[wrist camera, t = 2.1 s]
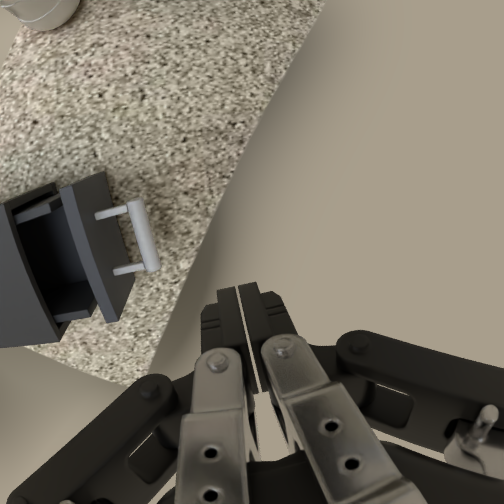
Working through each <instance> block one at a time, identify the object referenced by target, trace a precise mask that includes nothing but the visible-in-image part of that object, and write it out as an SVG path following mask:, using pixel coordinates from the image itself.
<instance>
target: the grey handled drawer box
mask: <svg viewBox="0 0 504 504" xmlns="http://www.w3.org/2000/svg"><path fill="white" fill-rule="evenodd" d="M56 194H57V191H56V187H55V183H54V182H52V183H49V184H47V185H44V186H42V187H39V188H36V189H34V190H31V191H29V192H27V193H24V194H22V195H19V196H17V197H15V198H12V199H10V200H8V201H6V202H3V203H1V204H0V348H7V347H18V346H28V345H37V344H46V343H55V342H60V340H61V338H62V336H63V335H64V333H65V331H66V329H67V328H68V326H69V324H70V322H71V321H72V320H71V321H64V322H58V323H55V322H54V320H53V318H52V315H51V313H50V311H49V309H48V307H47V305H46V303H45V301H44V299H43V296H42V294H41V292H40V290H39V287H38V285H37V283H36V280H35V278H34V275H33V273H32V270H31V268H30V265H29V263H28V260H27V257H26V255H25V252H24V249H23V246H22V244H21V241H20V238H19V235H18V232H17V229H16V226H15V222H14V219H13V216H12V211H14V210H17V209H19V208H22V207H24V206H27V205H29V204H32V203H35V202H37V201H40V200H43V199H45V198H48V197H51V196H54V195H56Z"/></svg>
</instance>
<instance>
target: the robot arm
mask: <svg viewBox="0 0 504 504" xmlns="http://www.w3.org/2000/svg"><path fill="white" fill-rule="evenodd" d="M238 289H239V293H240V298H241V303H242V307H243V311H244V317H245V321H246V326H247V330H248V334H249V338H250V343H251V347H252V351H253V355H254V360H255V364H256V368H257V372H258V376H259V380H260V384H261V388H262V392H266V391H269V394H270V399H271V403H272V407H273V411H274V414H275V417H276V419H277V422H278V424H279V427H280V430H281V432H282V435H283V438H284V440H285V443H286V445H287V448H288V450H289V453H290V455H289V456H287V457H285V458H282V459H280V460H277V461H261V455H260V447H259V438H258V430H257V422H256V413H255V401H254V397H253V394H258V393H259V391H258V387H257V383H256V378H255V374H254V370H253V365H252V361H251V357H250V352H249V348H248V343H247V339H246V334H245V330H244V325H243V321H242V317H241V312H240V307H239V303H238V298H237V294H236V289H235V287H229V288H225V289H220V290H217V299H218V303H215V304H209V305H206V306H205V307H204V309H203V311H202V313H201V356H200V357H199V358H198V359H197V361H196V363H195V368H194V371H193V372H191V373H190V374H188V375H186V376H184V377H182V378H179V379H177V380H174V381H172V382H171V380H170V379H169V378H168V377H167V376H165V375H162V374H150V375H146V376H143V377H141V378H139V379H138V380H137V381H135V382H134V383H133V384H132V385H131V386H130V387H129V388H128V389H127V390H125V392H123V393H122V394H121V395H120V396H119V397H118V398H117V399H116V400H115V401H114V402H112V403H111V404H110V405H109V406H108V407H107V408H106V409H105V410H104V411H102V412H101V413H100V414H99V415H98V416H97V417H96V418H95V419H94V420H93V421H92V422H90V423H89V424H88V425H87V426H86V427H85V428H84V429H83V430H81V431H80V432H79V433H78V434H77V435H76V436H75V437H74V438H73V439H71V440H70V441H69V442H68V443H67V444H66V445H65V446H64V447H63V448H61V449H60V450H59V451H58V452H57V453H56V454H55V455H54V456H52V457H51V458H50V459H49V460H48V461H47V462H46V463H44V464H43V465H42V466H41V467H40V468H39V469H38V470H37V471H35V472H34V473H33V474H32V475H31V476H30V477H29V478H27V479H26V480H25V481H24V482H23V483H22V484H21V485H19V486H18V487H17V488H16V489H15V490H14V491H13V492H12V493H11V494H10V495H9V497H8V499H7V503H6V504H148V503H149V502H150V501H151V499H152V498H153V497H154V496H155V495H156V494H157V493H158V492H159V490H160V489H161V488H162V487H163V486H164V485H165V484H166V483H167V482H168V481H169V479H170V478H171V477H172V476H173V475H174V474H175V473H176V471H177V473H176V486H175V487H173V488H172V489H170V490H169V491H168V492H167V493H166V494H165V495H164V496H163V497H162V498H161V499H160V500H159V501H158V503H157V504H504V368H500V367H496V366H492V365H488V364H483V363H480V362H476V361H472V360H468V359H464V358H460V357H457V356H453V355H449V354H446V353H442V352H438V351H435V350H431V349H428V348H424V347H420V346H417V345H413V344H410V343H407V342H403V341H400V340H397V339H393V338H390V337H386V336H383V335H380V334H376V333H373V332H370V331H365V330H355V331H350V332H348V333H345V334H344V335H342V336H341V337H340V338H339V339H338V341H337V343H336V345H335V346H315V345H311V344H308V343H307V342H306V340H305V339H304V338H303V337H301V336H299V335H298V333H297V331H296V329H295V327H294V325H293V322H292V320H291V318H290V316H289V314H288V312H287V309H286V307H285V306H284V303H283V301H282V299H281V297H280V296H279V295H277V294H276V293H274V292H273V291H270V292H266V293H261V294H260V291H259V289H258V286H257V283H256V282H252V283H248V284H243V285H239V286H238ZM377 384H380V385H383V386H386V387H388V388H391V389H394V390H397V391H400V392H403V393H405V394H407V395H405V394H402V393H399V392H396V391H393V390H390V389H388V388H385V387H382V386H379V385H377ZM408 395H409V396H408ZM371 428H373V429H376V430H378V431H381V432H383V433H386V434H389V435H391V436H394V437H396V438H399V439H402V440H405V441H407V442H410V443H413V444H416V445H419V446H422V447H425V448H428V449H431V450H434V451H437V452H440V453H443V454H444V457H445V460H446V462H447V463H445V462H442V461H439V460H436V459H433V458H430V457H428V456H425V455H422V454H420V453H417V452H415V451H412V450H410V449H407V448H405V447H402V446H400V445H397V444H394V443H391V442H387V441H381V440H379V439H378V438H377V436H376V435H375V433H374V432H373V430H372V429H371ZM151 433H152V434H151ZM150 434H151V436H150V437H149V438H148V439H147V440H146V441H145V442H144V443H143V444H142V445H141V446H140V447H139V448H138V449H137V450H136V451H135V452H134V453H133V454H132V455H131V453H132V452H133V451H134V450H135V449H136V448H137V447H138V446H139V445H140V444H141V443H142V442H143V441H144V440H145V439H146V438H147V437H148V436H149V435H150ZM130 455H131V456H130ZM129 456H130V457H129Z"/></svg>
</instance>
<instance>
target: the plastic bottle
mask: <svg viewBox="0 0 504 504" xmlns="http://www.w3.org/2000/svg"><path fill="white" fill-rule="evenodd" d="M79 2H80V0H0V7H2V8H5V9H6V10H8V11H9V12H11V13H12V14H13V15H15V16H16V17H17V18H18V19H19V20H20V22H21V23H23V24H24V25H25V26H26V27H27V28H29V29H31V30H36V31H49V30H53V29H55V28H57V27H59V26H61V25H62V24H64V23H65V22H66V21H67V20H69V18H70V17H71V16H72V15H73V14H74V12H75V11H76V9H77V7H78V4H79Z"/></svg>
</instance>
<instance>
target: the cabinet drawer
mask: <svg viewBox="0 0 504 504" xmlns="http://www.w3.org/2000/svg"><path fill="white" fill-rule="evenodd" d="M59 192H60V193H59V194H56V195H54V196H51V197H48V198H45V199H43V200H40V201H37V202H35V203H32V204H29V205H27V206H24V207H22V208H19V209H17V210H14V211H12V216H13V219H14V222H15V226H16V229H17V232H18V235H19V238H20V241H21V244H22V246H23V249H24V252H25V255H26V257H27V260H28V263H29V265H30V268H31V270H32V273H33V275H34V278H35V280H36V283H37V285H38V287H39V290H40V292H41V294H42V296H43V299H44V301H45V303H46V305H47V307H48V309H49V311H50V313H51V315H52V318H53V320H54V322H55V323H58V322H64V321H71V320H77V319H83V318H89V317H91V316H92V314H93V312H94V310H95V308H96V306H97V304H98V305H99V307H100V310H101V312H102V314H103V316H104V319H105V321H106V323H111V322H117V321H119V319H120V316H121V314H122V311H123V309H124V306H125V304H126V301H127V299H128V296H129V294H130V291H131V289H132V287H133V284H134V282H135V276H134V273H133V272H134V271H139V270H144V269H146V271H147V272H154V271H157V270H159V269H160V268H161V267H162V265H161V261H160V258H159V255H158V251H157V248H156V244H155V241H154V237H153V234H152V230H151V226H150V222H149V219H148V215H147V211H146V207H145V203H144V199H143V197H137V198H134V199H131V200H128V201H127V202H126V204H123V205H120V206H116V207H113V204H112V200H111V197H110V193H109V189H108V185H107V181H106V176H105V172H104V171H103V172H100V173H97V174H94V175H91V176H89V177H86V178H84V179H81V180H79V181H77V182H74V183H72V184H70V185H67V186H65V187H63V188H60V189H59ZM128 211H129V215H130V218H131V222H132V226H133V229H134V233H135V236H136V239H137V243H138V246H139V249H140V253H141V256H142V259H143V261H139V262H135V263H130V261H129V258H128V255H127V252H126V249H125V245H124V242H123V239H122V236H121V232H120V229H119V226H118V222H117V219H116V215H118V214H122V213H126V212H128Z"/></svg>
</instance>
